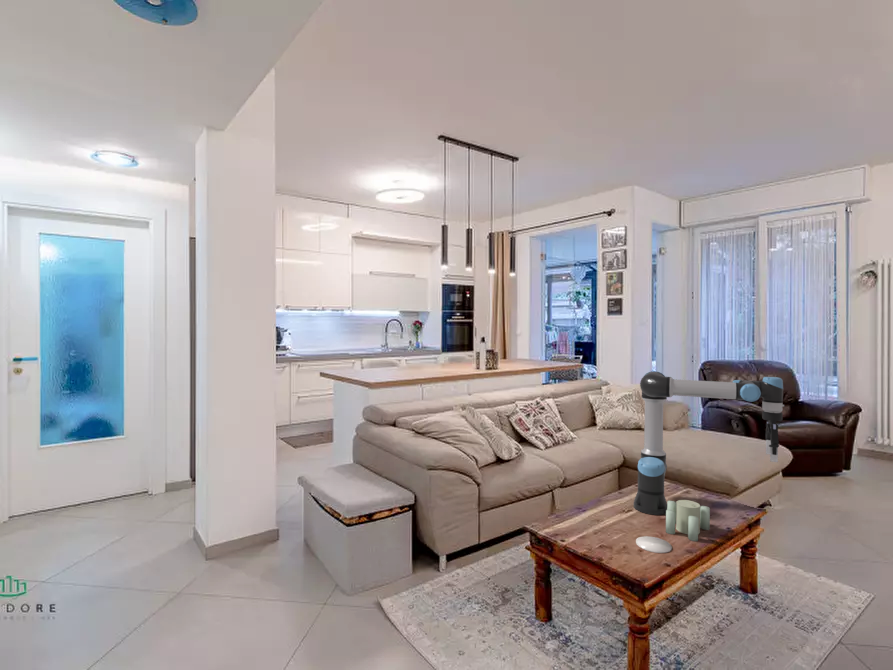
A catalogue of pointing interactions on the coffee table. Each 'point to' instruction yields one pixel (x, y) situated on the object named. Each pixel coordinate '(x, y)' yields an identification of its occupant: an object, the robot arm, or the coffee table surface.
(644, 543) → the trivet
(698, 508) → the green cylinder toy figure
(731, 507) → the coffee table surface
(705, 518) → the posts
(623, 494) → the coffee table surface
